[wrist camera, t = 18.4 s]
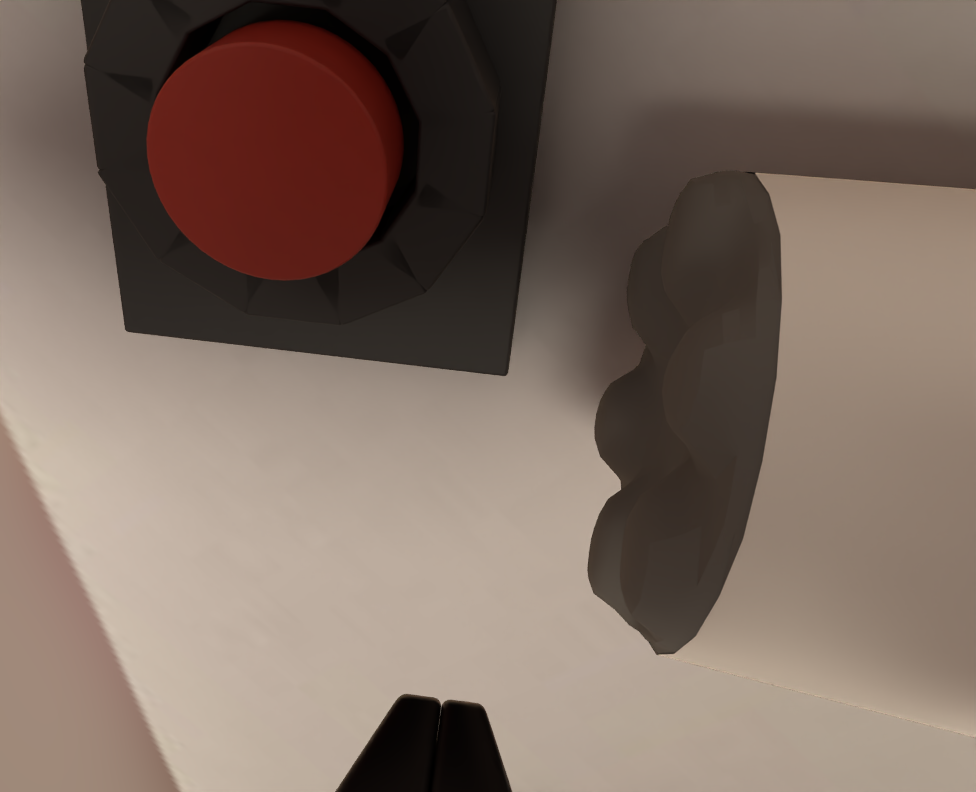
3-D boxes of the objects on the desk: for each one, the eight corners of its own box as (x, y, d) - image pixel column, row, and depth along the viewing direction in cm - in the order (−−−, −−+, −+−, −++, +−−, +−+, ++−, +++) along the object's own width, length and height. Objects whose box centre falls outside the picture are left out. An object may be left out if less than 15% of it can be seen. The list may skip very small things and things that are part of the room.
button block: (79, -255, 14) (-23, -273, 12) (580, -196, 14) (586, -200, 12) (146, 306, 20) (86, 378, 17) (509, 349, 20) (503, 426, 17)
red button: (177, 5, 14) (131, 28, 12) (410, 33, 14) (392, 59, 12) (194, 226, 16) (157, 268, 14) (399, 250, 16) (383, 294, 14)
